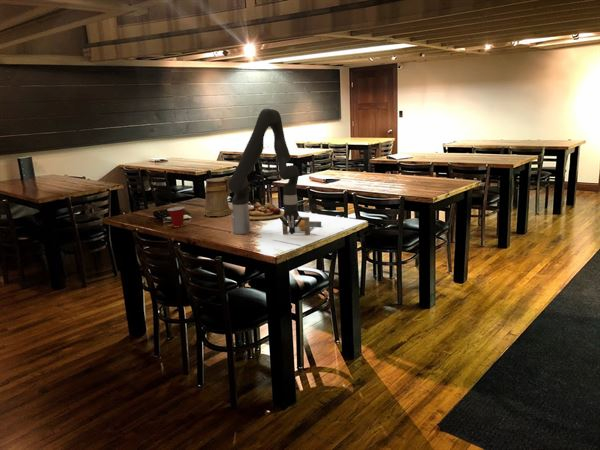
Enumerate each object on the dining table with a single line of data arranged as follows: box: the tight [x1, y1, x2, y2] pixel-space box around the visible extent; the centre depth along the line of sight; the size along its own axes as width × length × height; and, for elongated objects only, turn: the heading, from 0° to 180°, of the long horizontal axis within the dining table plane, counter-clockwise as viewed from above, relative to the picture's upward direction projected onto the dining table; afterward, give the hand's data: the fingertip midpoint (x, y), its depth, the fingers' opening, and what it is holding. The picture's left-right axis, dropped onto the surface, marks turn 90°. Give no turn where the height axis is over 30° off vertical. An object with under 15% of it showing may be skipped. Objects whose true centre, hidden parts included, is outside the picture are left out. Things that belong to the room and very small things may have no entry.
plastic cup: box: [167, 206, 185, 227], centre depth 312 cm, size 11×11×12 cm
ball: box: [298, 220, 305, 230], centre depth 288 cm, size 6×6×6 cm
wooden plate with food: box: [249, 201, 284, 222], centre depth 332 cm, size 32×32×8 cm
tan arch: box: [281, 216, 311, 236], centre depth 279 cm, size 3×15×10 cm, turn 74°
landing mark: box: [288, 227, 315, 234], centre depth 289 cm, size 13×13×1 cm
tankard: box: [203, 175, 232, 217], centre depth 342 cm, size 18×24×25 cm
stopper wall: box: [295, 220, 322, 228], centre depth 297 cm, size 20×2×3 cm, turn 74°
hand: (292, 233), depth 273 cm, fingers closed
